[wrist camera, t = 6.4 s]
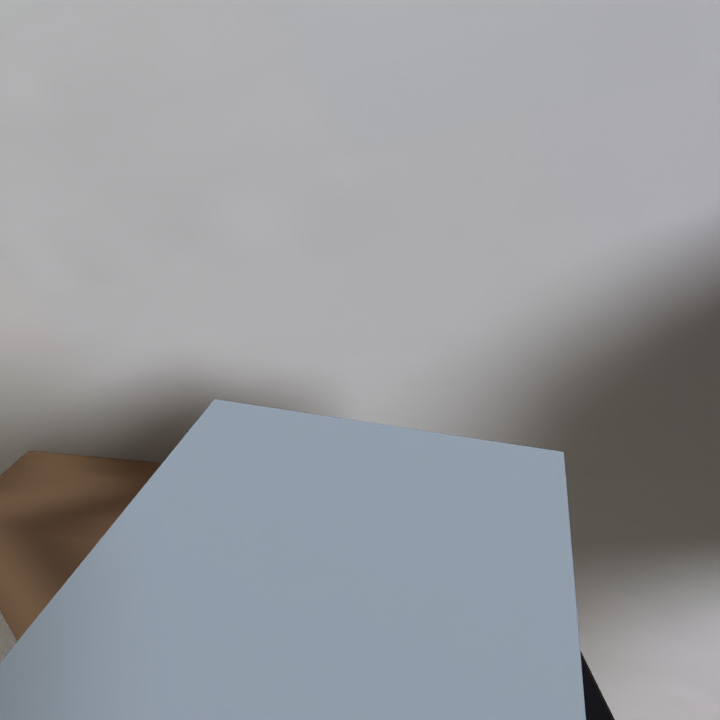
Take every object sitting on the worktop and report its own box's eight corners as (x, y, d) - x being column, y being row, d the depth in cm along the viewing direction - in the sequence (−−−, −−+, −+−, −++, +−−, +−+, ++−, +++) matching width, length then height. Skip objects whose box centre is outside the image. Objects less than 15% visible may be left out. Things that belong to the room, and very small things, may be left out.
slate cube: (564, 452, 8) (604, 950, 4) (511, 678, 10) (501, 1126, 6) (214, 398, 9) (-66, 744, 5) (244, 616, 11) (78, 969, 7)
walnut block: (252, 465, 21) (197, 553, 17) (290, 635, 25) (253, 733, 22) (34, 445, 23) (-51, 520, 19) (104, 604, 27) (44, 688, 24)
